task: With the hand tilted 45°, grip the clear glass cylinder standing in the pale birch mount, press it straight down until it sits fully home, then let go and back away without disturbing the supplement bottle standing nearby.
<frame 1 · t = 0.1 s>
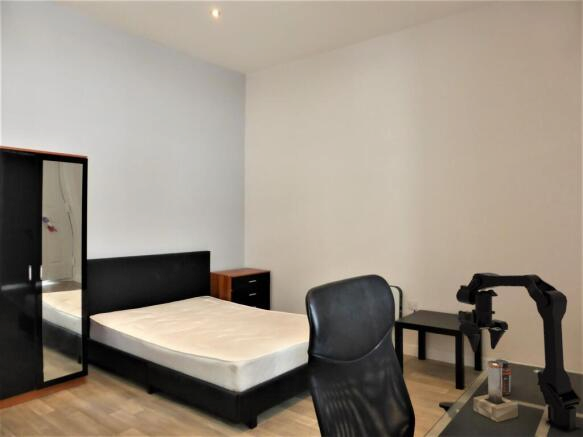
hand: (483, 350, 151), 15 cm above the table, tool pointing down, fingers open, 9 cm apart
mount: (495, 413, 133), on the table
supplement bottle: (501, 393, 150), on the table
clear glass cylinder: (495, 382, 133), point 10 cm above the table, slide at 3.5 cm
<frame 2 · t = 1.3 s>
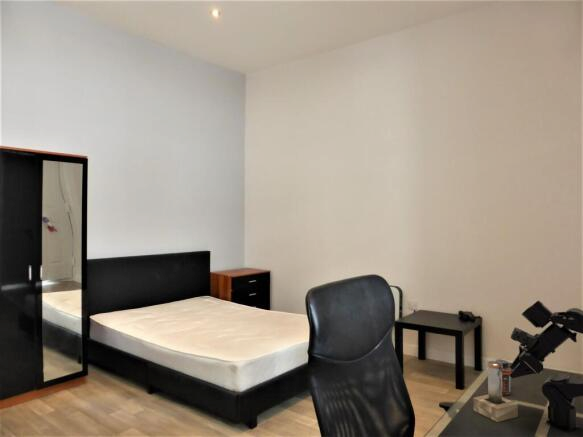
hand: (510, 372, 132), 14 cm above the table, tool tilted 40°, fingers open, 9 cm apart
nothing on the table moved.
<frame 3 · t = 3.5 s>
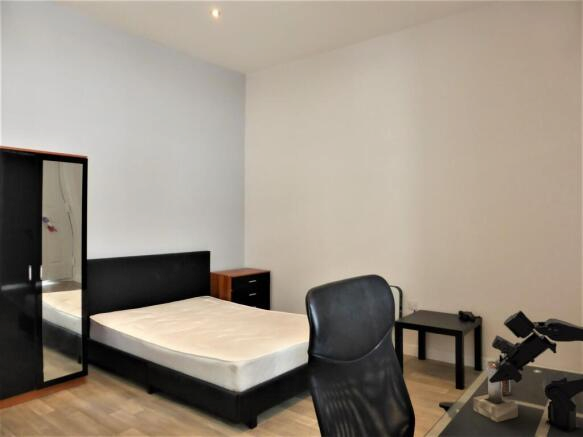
hand: (490, 379, 134), 11 cm above the table, tool tilted 45°, fingers closed on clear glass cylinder, 4 cm apart
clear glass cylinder: (495, 382, 133), point 10 cm above the table, slide at 3.4 cm, touching gripper
everything else where it was.
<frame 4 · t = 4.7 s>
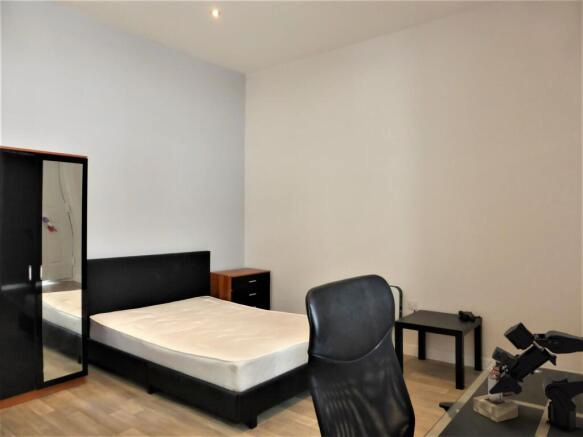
hand: (490, 390, 134), 7 cm above the table, tool tilted 45°, fingers closed on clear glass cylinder, 4 cm apart
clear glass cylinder: (495, 393, 133), point 6 cm above the table, slide at -0.1 cm, touching gripper
everything else where it was.
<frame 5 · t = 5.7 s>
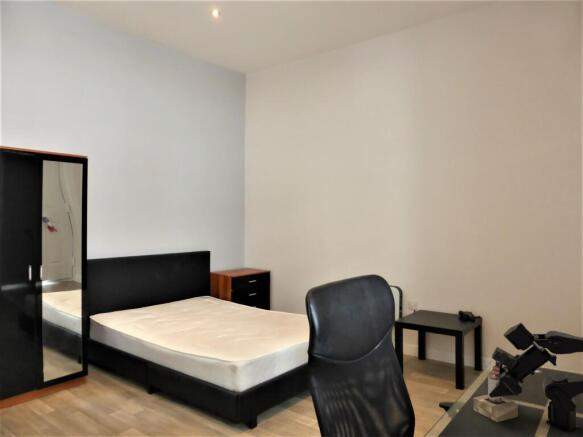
hand: (490, 391, 134), 7 cm above the table, tool tilted 45°, fingers open, 9 cm apart
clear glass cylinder: (495, 393, 133), point 6 cm above the table, slide at -0.1 cm
everything else where it was.
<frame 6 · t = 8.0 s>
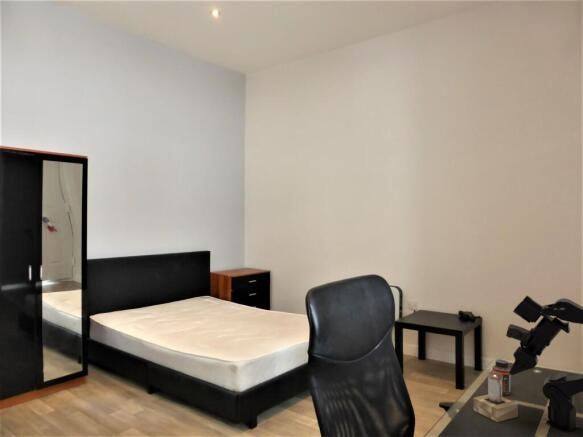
hand: (513, 369, 134), 14 cm above the table, tool tilted 35°, fingers open, 9 cm apart
nothing on the table moved.
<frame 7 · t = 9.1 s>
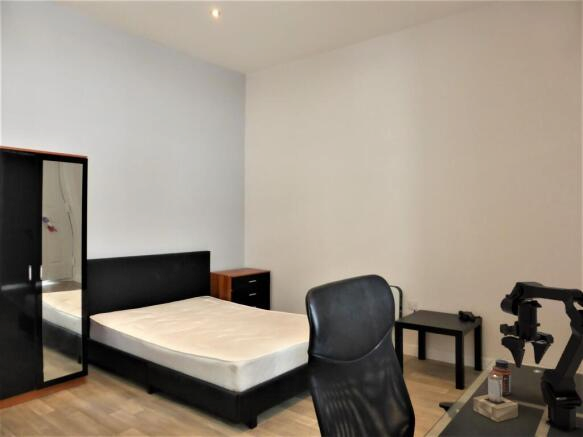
hand: (527, 365, 139), 13 cm above the table, tool pointing down, fingers open, 9 cm apart
nothing on the table moved.
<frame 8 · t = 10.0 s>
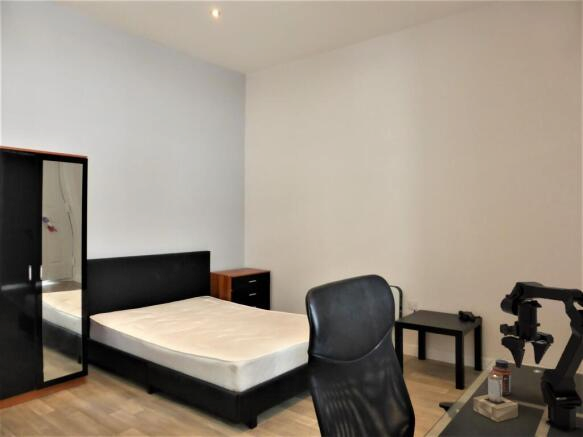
hand: (527, 365, 139), 13 cm above the table, tool pointing down, fingers open, 9 cm apart
nothing on the table moved.
at the end: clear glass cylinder slide at -0.1 cm; the gripper is holding nothing; supplement bottle moved 0.2 cm from its start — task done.
